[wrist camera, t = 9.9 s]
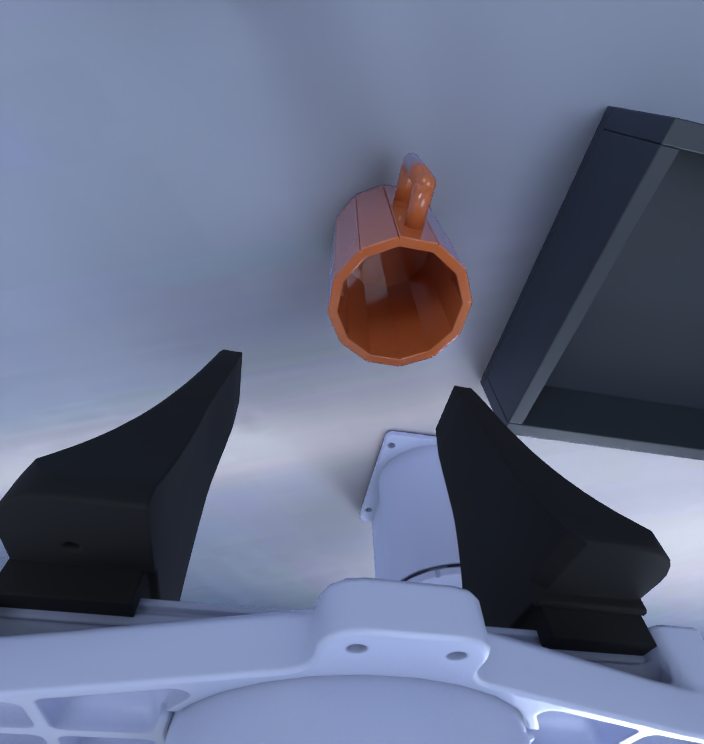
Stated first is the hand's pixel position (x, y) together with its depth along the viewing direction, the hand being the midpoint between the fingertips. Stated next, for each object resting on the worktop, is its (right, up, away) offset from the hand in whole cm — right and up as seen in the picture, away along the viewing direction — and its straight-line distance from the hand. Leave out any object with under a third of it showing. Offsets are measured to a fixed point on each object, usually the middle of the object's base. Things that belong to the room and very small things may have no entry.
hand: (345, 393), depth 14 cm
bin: (+19, +5, +9) cm, 21 cm away
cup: (+2, +7, +6) cm, 10 cm away
